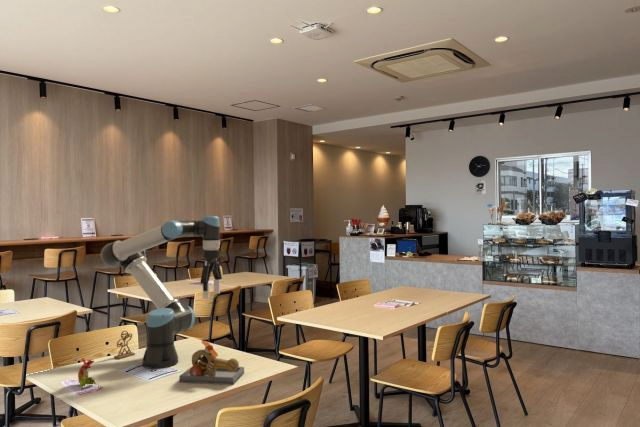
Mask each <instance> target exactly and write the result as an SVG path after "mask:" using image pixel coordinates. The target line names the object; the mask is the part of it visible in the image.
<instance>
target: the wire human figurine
mask: <svg viewBox="0 0 640 427" xmlns="http://www.w3.org/2000/svg"><path fill="white" fill-rule="evenodd" d="M128 338H129V339H128ZM132 338H133V334H132V333H129V332H128V331H127V330H122V331H121V333H120V339H118V340H117V342H116V347H117V348H120V349H119V351H118V354H117V355H113V359H115V360H122V359H126V358H128V357H133V356H135V355H136V352H133V351H131V349H130V347H129V346H128V344H129V342H130V341H131V340H132ZM127 339H128V340H127ZM120 341H123V342H120ZM126 347H127V349H126Z"/></svg>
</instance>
